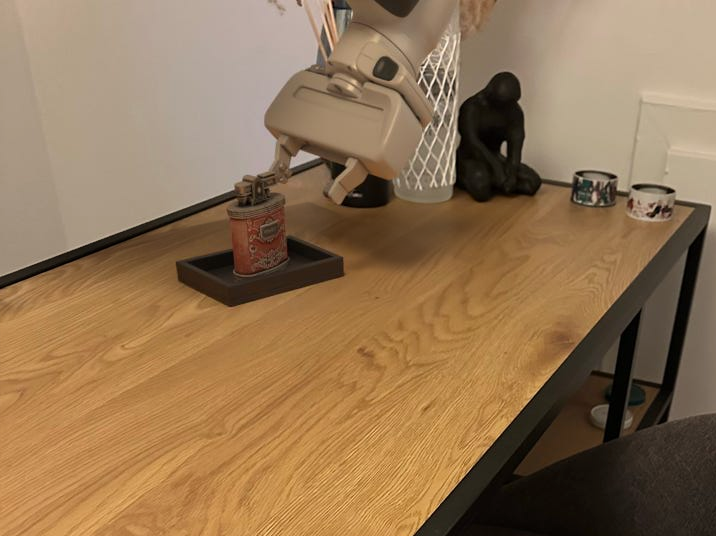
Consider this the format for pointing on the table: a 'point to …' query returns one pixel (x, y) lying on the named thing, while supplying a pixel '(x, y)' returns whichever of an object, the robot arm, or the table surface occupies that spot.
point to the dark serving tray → (218, 276)
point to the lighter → (258, 227)
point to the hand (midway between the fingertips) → (302, 189)
